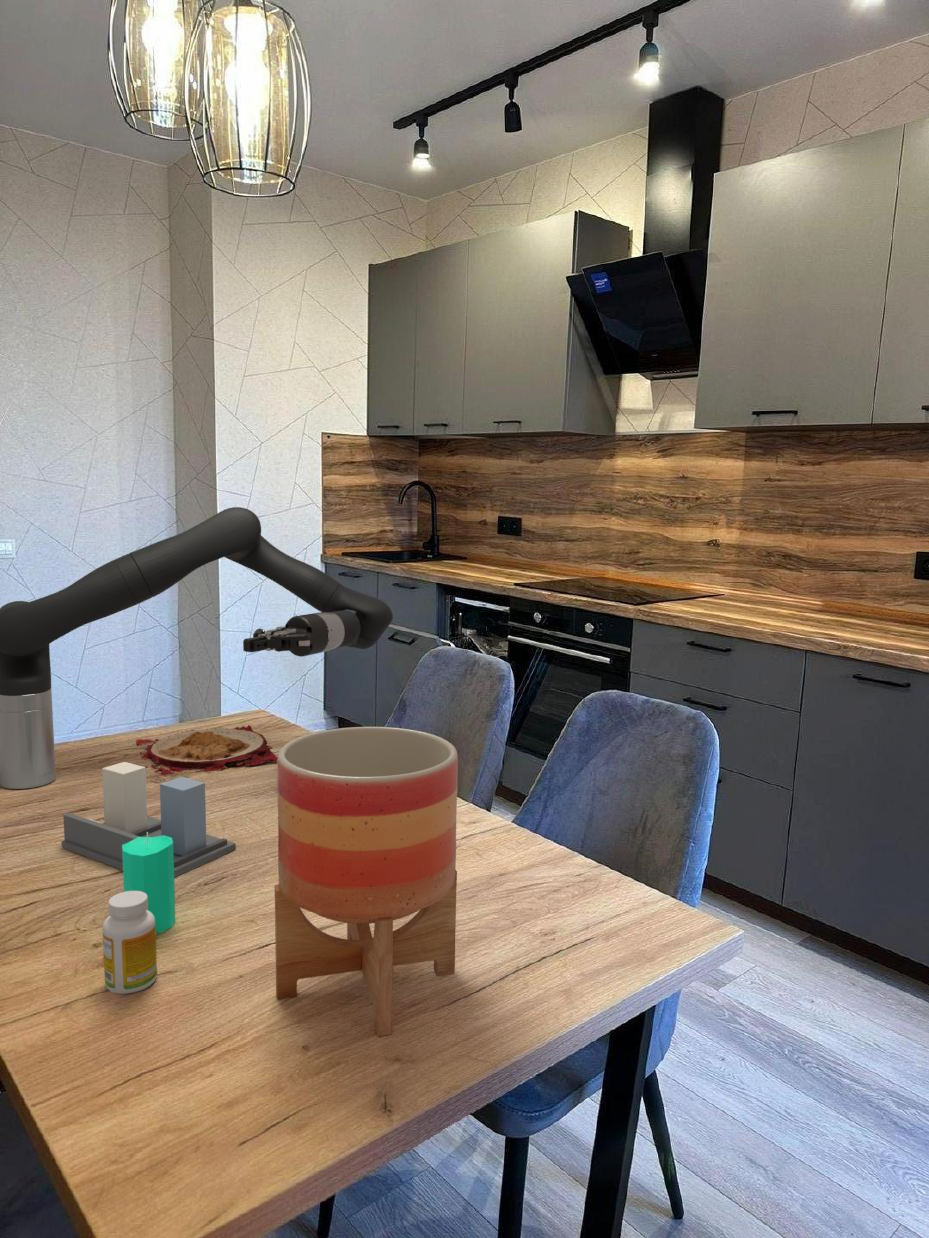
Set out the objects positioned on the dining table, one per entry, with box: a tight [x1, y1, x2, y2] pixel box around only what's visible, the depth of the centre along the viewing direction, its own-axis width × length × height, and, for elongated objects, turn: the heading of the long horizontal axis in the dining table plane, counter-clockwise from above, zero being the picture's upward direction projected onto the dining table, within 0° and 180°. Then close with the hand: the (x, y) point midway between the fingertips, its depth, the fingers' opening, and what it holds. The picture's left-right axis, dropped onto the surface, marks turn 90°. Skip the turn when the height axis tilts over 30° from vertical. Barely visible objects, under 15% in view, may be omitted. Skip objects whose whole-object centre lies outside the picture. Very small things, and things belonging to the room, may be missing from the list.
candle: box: [122, 832, 176, 935], centre depth 106 cm, size 6×6×12 cm
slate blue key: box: [159, 776, 207, 856], centre depth 126 cm, size 5×4×10 cm
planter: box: [274, 726, 459, 1038], centre depth 93 cm, size 20×20×27 cm
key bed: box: [61, 812, 236, 878], centre depth 129 cm, size 22×14×5 cm, turn 59°
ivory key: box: [101, 761, 148, 833], centre depth 132 cm, size 5×4×10 cm
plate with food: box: [135, 725, 278, 777], centre depth 177 cm, size 25×26×4 cm
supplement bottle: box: [102, 891, 158, 995], centre depth 94 cm, size 5×5×10 cm
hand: (246, 646), depth 145 cm, fingers closed
